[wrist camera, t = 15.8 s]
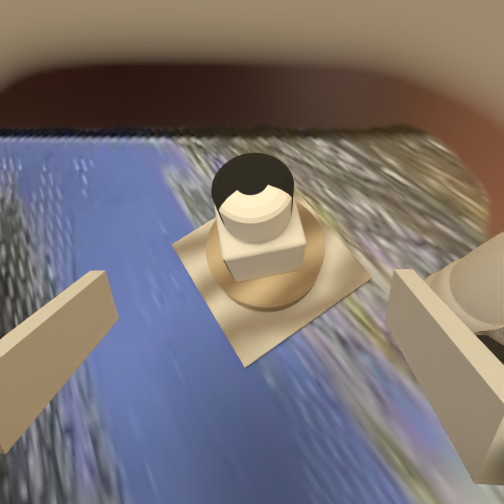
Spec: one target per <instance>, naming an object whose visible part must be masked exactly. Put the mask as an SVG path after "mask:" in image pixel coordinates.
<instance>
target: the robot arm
mask: <svg viewBox="0 0 504 504" xmlns="http://www.w3.org/2000/svg"><path fill="white" fill-rule="evenodd" d="M118 319H119V317H118V314H117V310H116V307H115V303H114V299H113V296H112V292H111V289H110V285H109V282H108V278H107V275H106V271H89V272H88V273H87V274H85V275H84V276H83V277H82V278H80V279H79V280H78V281H76V282H75V283H74V284H72V285H71V286H70V287H68V288H67V289H66V290H64V291H63V292H62V293H60V294H59V295H58V296H57V297H55V298H54V299H53V300H51V301H50V302H49V303H47V304H46V305H45V306H43V307H42V308H41V309H39V310H38V311H37V312H35V313H34V314H33V315H32V316H30V317H29V318H28V319H26V320H25V321H24V322H22V323H21V324H20V325H18V326H17V327H16V328H14V329H13V330H12V331H10V332H9V333H7V334H5V335H3V336H1V337H0V454H6V453H7V452H8V451H9V450H10V449H11V447H12V446H13V445H14V444H15V443H16V441H17V440H18V439H19V438H20V437H21V435H22V434H23V433H24V432H25V431H26V429H27V428H28V427H29V426H30V425H31V423H32V422H33V421H34V420H35V419H36V417H37V416H38V415H39V414H40V413H41V411H42V410H43V409H44V408H45V407H46V405H47V404H48V403H49V402H50V401H51V399H52V398H53V397H54V396H55V395H56V393H57V392H58V391H59V390H60V389H61V387H62V386H63V385H64V384H65V383H66V382H67V380H68V379H69V378H70V377H71V376H72V374H73V373H74V372H75V371H76V370H77V368H78V367H79V366H80V365H81V364H82V362H83V361H84V360H85V359H86V358H87V356H88V355H89V354H90V353H91V352H92V350H93V349H94V348H95V347H96V346H97V344H98V343H99V342H100V341H101V340H102V338H103V337H104V336H105V335H106V334H107V332H108V331H109V330H110V329H111V328H112V326H113V325H114V324H115V323H116V322H117V320H118ZM385 323H386V325H387V326H388V328H389V330H390V332H391V334H392V335H393V337H394V339H395V341H396V343H397V344H398V346H399V348H400V350H401V352H402V353H403V355H404V357H405V359H406V361H407V363H408V364H409V366H410V368H411V370H412V372H413V373H414V375H415V377H416V379H417V381H418V382H419V384H420V386H421V388H422V390H423V392H424V393H425V395H426V397H427V399H428V401H429V402H430V404H431V406H432V408H433V410H434V411H435V413H436V415H437V417H438V419H439V420H440V422H441V424H442V426H443V428H444V430H445V431H446V433H447V435H448V437H449V439H450V440H451V442H452V444H453V446H454V448H455V449H456V451H457V453H458V455H459V457H460V459H461V460H462V462H463V464H464V466H465V468H466V469H467V471H468V473H469V475H470V477H471V478H472V480H473V482H474V484H490V485H504V346H503V345H502V344H500V343H498V342H497V341H495V340H494V339H492V338H490V337H489V336H487V335H475V334H474V333H473V332H472V331H471V330H470V329H469V328H468V327H467V326H466V325H465V324H464V323H463V322H462V321H461V320H460V319H459V318H458V317H457V316H456V314H455V313H454V312H453V311H452V310H451V309H450V308H449V307H448V306H447V305H446V304H445V303H444V302H443V301H442V300H441V299H440V298H439V297H438V296H437V295H436V293H435V292H434V291H433V290H432V289H431V288H430V287H429V286H428V285H427V284H426V283H425V282H424V281H423V280H422V279H421V278H420V277H419V276H418V275H417V274H416V272H415V271H414V270H413V269H394V272H393V278H392V284H391V290H390V296H389V302H388V308H387V314H386V320H385Z"/></svg>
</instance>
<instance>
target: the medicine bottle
mask: <svg viewBox="0 0 504 504" xmlns="http://www.w3.org/2000/svg"><path fill="white" fill-rule="evenodd" d="M212 198H213V201H214V206H215V213H216V220H217V227H218V234H219V241H220V248H221V254H222V259H223V261H224V263H225V265H226V266H227V268H228V270H229V272H230V274H231V275H232V277H233V279H234V281H235V282H241V281H246V280H251V279H256V278H261V277H266V276H271V275H276V274H281V273H286V272H291V271H296V270H300V269H301V266H302V262H303V257H304V252H305V247H306V238H305V234H304V231H303V227H302V223H301V220H300V216H299V212H298V209H297V205H296V201H295V198H294V181H293V177H292V174H291V172H290V170H289V169H288V168H287V166H286V165H285V164H284V163H283V162H281V161H280V160H279V159H277V158H275V157H273V156H270V155H267V154H262V153H247V154H243V155H240V156H237V157H235V158H233V159H231V160H230V161H228V162H227V163H226V164H224V165H223V166H222V167H221V168H220V169H219V171H218V172H217V173H216V175H215V177H214V180H213V183H212Z"/></svg>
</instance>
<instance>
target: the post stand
mask: <svg viewBox="0 0 504 504" xmlns="http://www.w3.org/2000/svg"><path fill="white" fill-rule="evenodd" d="M294 198H295V201H296V205H297V209H298V212H299V216H300V220H301V223H302V227H303V231H304V234H305V238H306V247H305V252H304V257H303V262H302V266H301V269H300V270H296V271H291V272H286V273H281V274H276V275H271V276H266V277H261V278H256V279H251V280H246V281H241V282H235V281H234V279H233V277H232V275H231V274H230V272H229V270H228V268H227V266H226V265H225V263H224V261H223V259H222V254H221V248H220V241H219V234H218V227H217V220H216V218H214V219H212V220H211V221H209V222H208V223H206V224H204V225H203V226H201V227H199V228H198V229H196V230H195V231H193V232H191V233H190V234H188V235H186V236H185V237H183V238H182V239H180V240H178V241H177V242H175V243H173V244H172V246H173V248H174V249H175V251H176V253H177V254H178V256H179V258H180V259H181V261H182V263H183V264H184V266H185V268H186V269H187V271H188V273H189V274H190V276H191V278H192V279H193V281H194V283H195V285H196V286H197V288H198V290H199V291H200V293H201V295H202V296H203V298H204V300H205V301H206V303H207V305H208V306H209V308H210V310H211V311H212V313H213V315H214V317H215V318H216V320H217V322H218V323H219V325H220V327H221V328H222V330H223V332H224V333H225V335H226V337H227V338H228V340H229V342H230V343H231V345H232V347H233V349H234V350H235V352H236V354H237V355H238V357H239V359H240V360H241V362H242V364H243V365H244V367H247V366H249V365H250V364H252V363H253V362H254V361H256V360H257V359H259V358H260V357H262V356H263V355H264V354H266V353H267V352H269V351H270V350H271V349H273V348H274V347H276V346H277V345H279V344H280V343H281V342H283V341H284V340H286V339H287V338H288V337H290V336H291V335H293V334H294V333H295V332H297V331H298V330H300V329H301V328H303V327H304V326H305V325H307V324H308V323H310V322H311V321H312V320H314V319H315V318H317V317H318V316H320V315H321V314H322V313H324V312H325V311H327V310H328V309H329V308H331V307H332V306H334V305H335V304H336V303H338V302H339V301H341V300H342V299H344V298H345V297H346V296H348V295H349V294H351V293H352V292H353V291H355V290H356V289H358V288H359V287H361V286H362V285H363V284H365V283H366V282H368V281H369V280H370V279H371V278H372V276H371V275H370V274H369V273H368V271H367V270H366V269H365V268H364V267H363V266H362V265H361V264H360V262H359V261H358V260H357V259H356V258H355V257H354V256H353V254H352V253H351V252H350V251H349V250H348V249H347V248H346V247H345V245H344V244H343V243H342V242H341V241H340V240H339V239H338V237H337V236H336V235H335V234H334V233H333V232H332V231H331V230H330V228H329V227H328V226H327V225H326V224H325V223H324V222H323V220H322V219H321V218H320V217H319V216H318V215H317V214H316V213H315V211H314V210H313V209H312V208H311V207H310V206H309V205H308V203H307V202H306V201H305V200H304V199H303V198H302V197H301V196H300V194H299V193H298V192H297V191H296V190H295V189H294Z"/></svg>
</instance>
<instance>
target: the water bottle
mask: <svg viewBox="0 0 504 504" xmlns="http://www.w3.org/2000/svg"><path fill="white" fill-rule="evenodd" d="M423 281H424V282H425V283H426V284H427V285H428V286H429V287H430V288H431V289H432V290H433V291H434V292H435V293H436V295H437V296H438V297H439V298H440V299H441V300H442V301H443V302H444V303H445V304H446V305H447V306H448V307H449V308H450V309H451V310H452V311H453V312H454V313H455V314H456V316H457V317H458V318H459V319H460V320H461V321H462V322H463V323H464V324H465V325H466V326H467V327H468V328H469V329H470V330H471V331H472V332H473V333H475V332H478V331H487V330H494V329H499V328H503V327H504V232H502V233H500V234H498V235H497V236H495V237H493V238H492V239H490V240H488V241H487V242H485V243H483V244H482V245H480V246H479V247H477V248H476V249H474V250H473V251H471V252H470V253H469V254H467V255H466V256H465V257H464V258H461V259H458V260H456V261H454V262H452V263H450V264H449V265H447V266H446V267H444V268H443V269H442V270H440V271H437V272H435V273H433V274H431V275H430V276H428V277H427V278H425V279H424V280H423Z"/></svg>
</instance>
